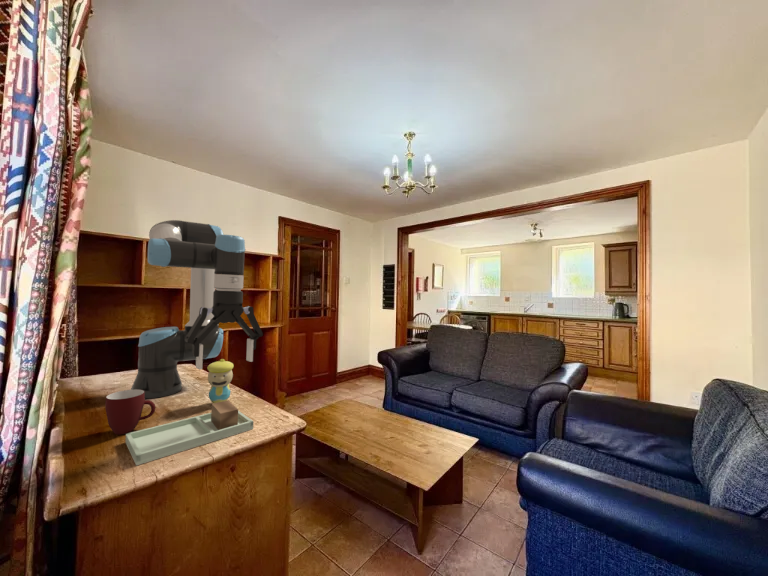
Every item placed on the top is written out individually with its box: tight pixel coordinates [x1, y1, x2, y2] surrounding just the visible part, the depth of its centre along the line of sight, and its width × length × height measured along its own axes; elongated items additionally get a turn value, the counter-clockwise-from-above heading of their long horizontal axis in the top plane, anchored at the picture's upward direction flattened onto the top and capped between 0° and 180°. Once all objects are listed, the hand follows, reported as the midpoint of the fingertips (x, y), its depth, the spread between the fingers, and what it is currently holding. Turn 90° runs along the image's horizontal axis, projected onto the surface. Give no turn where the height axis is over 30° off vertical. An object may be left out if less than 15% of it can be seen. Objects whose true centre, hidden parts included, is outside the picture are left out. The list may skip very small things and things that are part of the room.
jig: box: [125, 410, 254, 467], centre depth 82 cm, size 14×26×2 cm, turn 137°
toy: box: [206, 358, 234, 404], centre depth 104 cm, size 8×9×15 cm
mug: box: [104, 389, 156, 436], centre depth 84 cm, size 10×8×10 cm
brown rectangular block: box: [210, 399, 239, 430], centre depth 88 cm, size 4×9×5 cm, turn 42°
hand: (225, 364), depth 88 cm, fingers open, 13 cm apart
